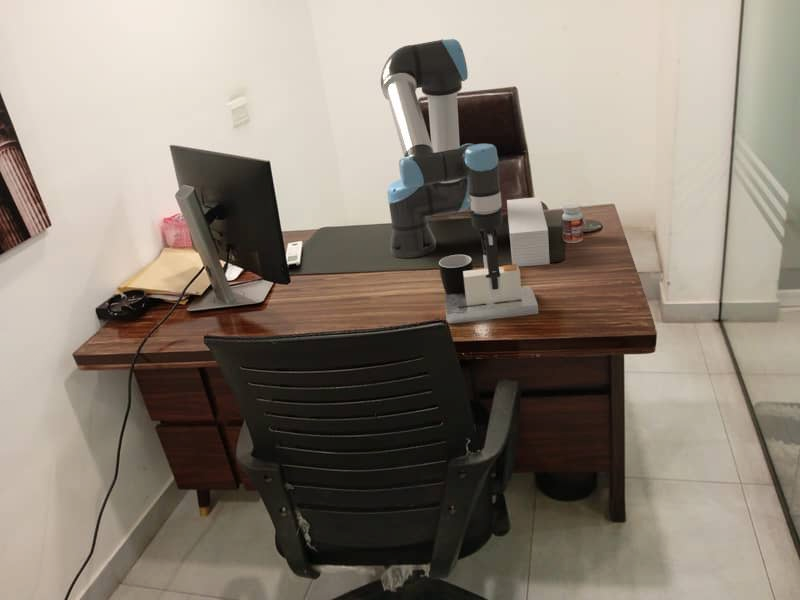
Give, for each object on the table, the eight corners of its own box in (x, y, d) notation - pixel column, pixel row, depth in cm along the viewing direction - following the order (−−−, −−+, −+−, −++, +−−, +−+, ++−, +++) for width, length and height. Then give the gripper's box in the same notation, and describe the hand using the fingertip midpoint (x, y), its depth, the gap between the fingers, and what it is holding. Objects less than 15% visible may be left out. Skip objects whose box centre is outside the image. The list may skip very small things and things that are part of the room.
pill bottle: (574, 245, 205) (572, 210, 200) (558, 241, 210) (557, 206, 205) (587, 239, 208) (586, 204, 203) (572, 235, 213) (571, 201, 208)
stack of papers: (509, 230, 225) (506, 200, 221) (541, 227, 224) (539, 196, 219) (512, 267, 197) (510, 233, 192) (549, 264, 195) (547, 230, 190)
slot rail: (445, 303, 181) (444, 295, 180) (531, 293, 179) (530, 285, 178) (447, 324, 170) (446, 315, 169) (538, 313, 168) (537, 304, 167)
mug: (473, 301, 180) (469, 266, 175) (440, 302, 182) (436, 268, 178) (478, 282, 190) (475, 249, 186) (447, 283, 192) (443, 251, 188)
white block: (466, 305, 176) (462, 269, 172) (520, 299, 175) (517, 262, 171) (467, 311, 173) (463, 275, 168) (522, 305, 171) (519, 268, 167)
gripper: (467, 196, 174) (474, 271, 183) (474, 228, 152) (482, 311, 161) (496, 193, 174) (502, 268, 183) (507, 224, 151) (514, 307, 160)
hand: (493, 288), depth 172 cm, fingers open, 13 cm apart
